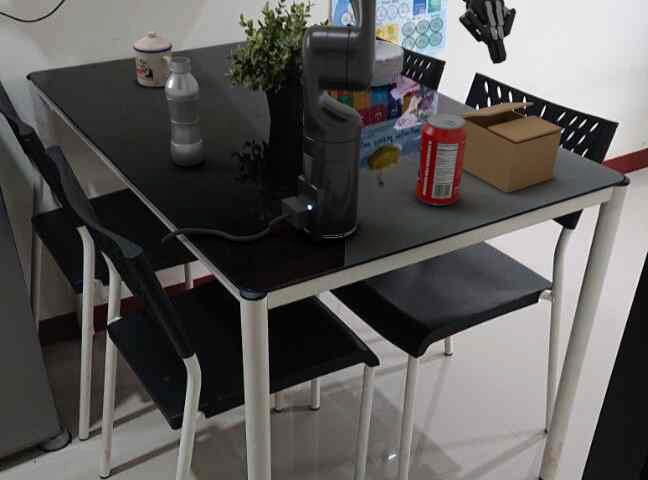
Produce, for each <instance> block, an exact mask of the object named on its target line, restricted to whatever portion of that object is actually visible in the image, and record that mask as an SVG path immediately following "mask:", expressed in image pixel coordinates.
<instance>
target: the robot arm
mask: <svg viewBox="0 0 648 480" xmlns="http://www.w3.org/2000/svg"><path fill="white" fill-rule="evenodd" d="M348 1H349V3H350V7H351V9H352V12H353V13H352V14H353V17H354V22H355V25H354V26H349V25H348V26H347V25H329V24H328V25H327V24H326V25H325V24H313V25H309V26H308V27H307V29H306V30H305V32H304V35H303V38H302V45H301V70H302V89H303V91H302V93H303V120H302V123H303V124H302V174H301V175H298V176H297V195H296V196H297V197H296V196H291V197H287V198H282V199H281V201H280V203H281V215H280V216H277V217H275V218H274V219H272V220H271V221H270V222H269V224H268V227H267V228H265V229H264V230H263V231H262V232H259V233H257V234H254V235H253V234H252V235H247V236H246V235H245V236H236V235H232V234H229V233H227V232H225V231H222V230H218V229H207V228H194V227H193V228H192V227H186V228H185V227H184V228H180V229H176V230H174V231H172V232H170V233H168V234H166V236H164V237H163V238H162V239H161V241H160V243H161V244H162V243H163V244H166V243H167V242H169V241H170V240H171V239H174V238H175V237H177V236H180V235H184V234H197V235H198V234H200V235H213V236H218V237H221V238H224V239H227V240H229V241H232V242H241V243H243V242H244V243H245V242H253V241H257V240H259V239H261V238H263V237H265V236H267V235H268V234H270V233H271V232H272V231H273V230H274V227H275V225H277V224H279V223H280V222H282V221H286V222H288V223H289V224H290V225H291V226H293V227H294V228H295V229H296V230H300V231H301V232H302V233H304V234H305V235H306V236H308V237H309V238H310V239H311V240H313V241H314V242H315V243H319V242H337V241H344V240H346V239H349V238H350V237H353V236H354V235H355V233H356V232H357V230H358V205H359V204H358V203H359V185H360V165H361V149H362V132H363V119H362V115H361V114H360V113H359V111H357V110H356V109H354V108H353V107H351V106H349V105H346V104H344V103H341V102H340V101H337V100H336V99H334V98H333V97H331V96H330V95H329V94H328V92H344V93H345V92H347V93H348V92H349V93H364V92H367V91H368V90H370V88H371V87H372V86H371V84H372V81H373V77H374V72H375V61H376V40H377V0H348ZM462 2H464V3H465V12H464V13H463V14H462V15H461V16H459V17H458V21H459V23H460V24H461V25H462V26H463V27H464V29H466V31H467V32H468V33H469V34H470V35H471V36H472V37H473V38H474V40H475V41H476V42H477V43H481V42H483V43H484V44H485V45H486V47H487V51H488V55H489V58H490V61H491V62H492V64H493V65H498V64H502V63H503V62H505V61H506V60H507V57H508V56H507V55H508V54H507V51H506V47H505V43H504V39H505V38H506V37H508V36H509V35H511V31H512V29H513V25H514V21H515V19H516V15H517V10H516V8H514V7H512V8H508V7H507V6H506V5H505V4H506V3H505V0H462ZM326 91H327V92H326ZM356 226H357V227H356ZM355 228H356V229H355ZM354 229H355V230H354ZM352 230H354V231H353V232H351V231H352ZM309 232H310V233H309ZM350 232H351V233H350ZM347 233H349V234H347ZM312 234H313V235H314V236H313V235H312ZM342 234H347V235H344V236H339V237H319V236H338V235H342ZM316 237H319V238H316ZM168 380H169V381H170V377H169V375H168V376H165V377H164V382H165V381H168Z"/></svg>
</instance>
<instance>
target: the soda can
mask: <svg viewBox="0 0 648 480" xmlns="http://www.w3.org/2000/svg"><path fill="white" fill-rule="evenodd" d="M464 124H465V121H464V120H463V119H462V116H458V115H455V114H450V113H434V114H432V115H429V116H428V117H427V118H426V121H425V123H424V124H423V125H422V127H421V134H420V144H419V153H418V164H417V171H416V183H415V196H416V195H417V196H418V197H419V198H418V197H417V196H416V197H417V198H418V199H419V200H420V201H421V202H423V203H425V204H427V205H429V206H435V207H442V206H447V205H450V204H453V203H455V202H456V201H457V200H458V199H459V197H460V196H459V195H460V190H461V189H460V188H461V182H462V181H461V180H462V174H463V169H462V168H463V161H464V154H465V146H466V139H467V129H466V127H465V125H464ZM421 199H422V200H421ZM434 203H436V204H434Z"/></svg>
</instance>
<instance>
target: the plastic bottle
mask: <svg viewBox="0 0 648 480" xmlns="http://www.w3.org/2000/svg"><path fill="white" fill-rule="evenodd" d="M170 71H171V72H172V74H171V75H170V77H169V78H168V80H167V82H166V85H165V86H164V93H165V97H166V102H167V106H168V110H169V117H170V124H171V125H170V128H171V129H170V130H171V132H170V133H171V134H170V135H171V140H170V155H171V158H172V160H173V162H174V163H175V164H176V165H177V166H182V167H194V166H196V165H197V166H198V165H199V164H200V163H202V161H203V160H204V157H205V147H204V141H203V139H202V134H201V127H200V118H199V115H200V114H199V104H200V86H199V83H198V81H197V80H196V79H195V77H194V76H193V75H192V73H191V71H192V66H191V61H190V58H188V57H185V56H175V57H172V58H171V59H170Z"/></svg>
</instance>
